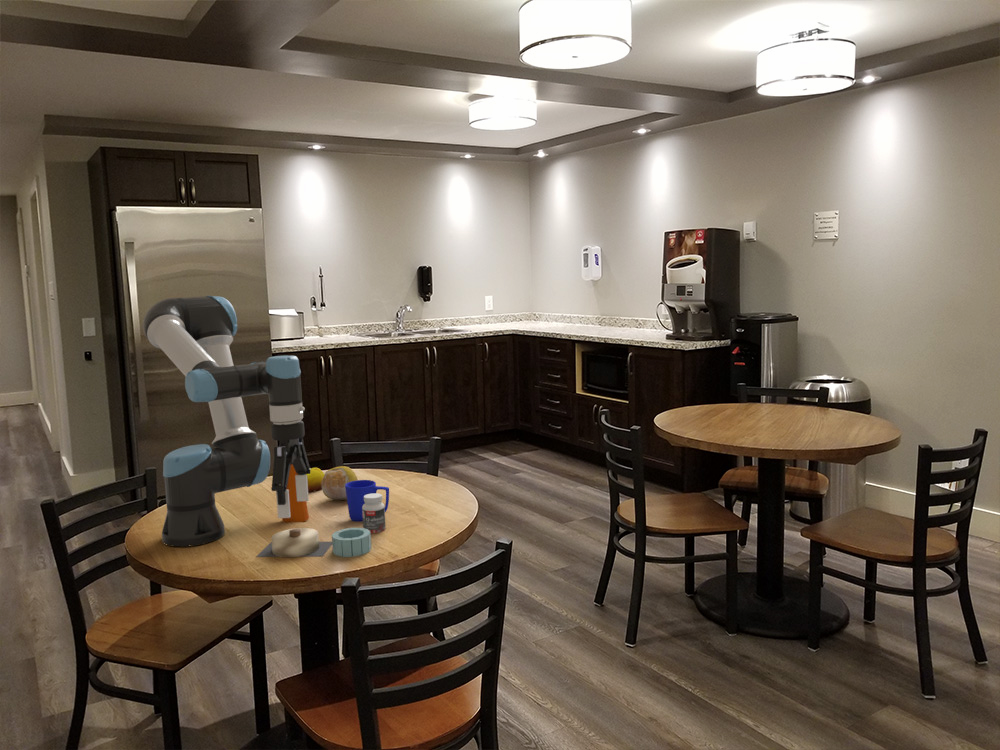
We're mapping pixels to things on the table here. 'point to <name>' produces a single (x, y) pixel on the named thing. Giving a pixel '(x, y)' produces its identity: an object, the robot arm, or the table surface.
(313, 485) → the fruit
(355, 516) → the mug
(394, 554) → the table surface
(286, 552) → the lid
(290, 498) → the orange squeeze bottle
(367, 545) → the bowl
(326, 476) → the fruit
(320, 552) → the mat
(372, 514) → the pill bottle
